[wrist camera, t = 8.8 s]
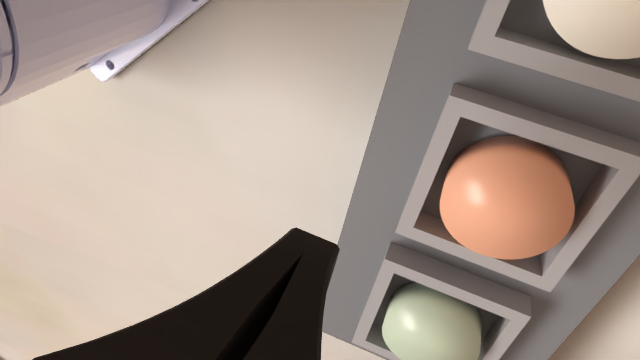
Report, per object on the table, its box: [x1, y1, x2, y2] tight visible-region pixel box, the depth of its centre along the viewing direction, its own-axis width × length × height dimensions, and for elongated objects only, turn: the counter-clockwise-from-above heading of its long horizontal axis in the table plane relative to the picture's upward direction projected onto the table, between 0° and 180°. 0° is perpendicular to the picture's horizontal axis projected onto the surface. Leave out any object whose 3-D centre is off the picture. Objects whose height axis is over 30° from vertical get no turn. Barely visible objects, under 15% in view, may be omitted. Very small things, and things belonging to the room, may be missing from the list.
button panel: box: [322, 0, 640, 360], centre depth 18 cm, size 26×11×4 cm, turn 169°
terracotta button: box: [440, 136, 575, 260], centre depth 17 cm, size 4×4×2 cm
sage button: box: [382, 283, 482, 360], centre depth 21 cm, size 4×4×2 cm
